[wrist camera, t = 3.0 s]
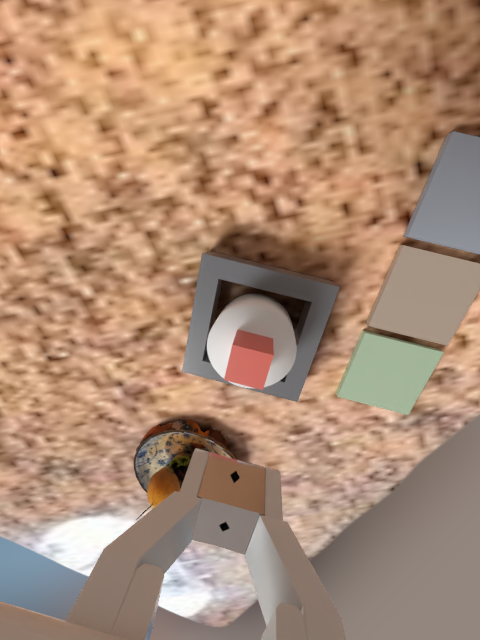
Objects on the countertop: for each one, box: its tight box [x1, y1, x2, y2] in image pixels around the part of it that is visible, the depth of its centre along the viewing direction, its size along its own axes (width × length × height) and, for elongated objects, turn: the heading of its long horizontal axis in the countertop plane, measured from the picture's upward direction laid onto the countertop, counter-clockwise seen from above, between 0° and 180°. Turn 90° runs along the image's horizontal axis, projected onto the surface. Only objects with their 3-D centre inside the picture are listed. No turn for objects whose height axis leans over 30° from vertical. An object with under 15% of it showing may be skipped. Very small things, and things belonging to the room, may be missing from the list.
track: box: [336, 131, 480, 415], centre depth 20 cm, size 20×6×1 cm, turn 167°
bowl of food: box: [134, 420, 237, 520], centre depth 25 cm, size 12×12×8 cm
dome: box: [207, 294, 297, 390], centre depth 18 cm, size 6×6×6 cm
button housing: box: [182, 251, 340, 402], centre depth 21 cm, size 10×10×2 cm
